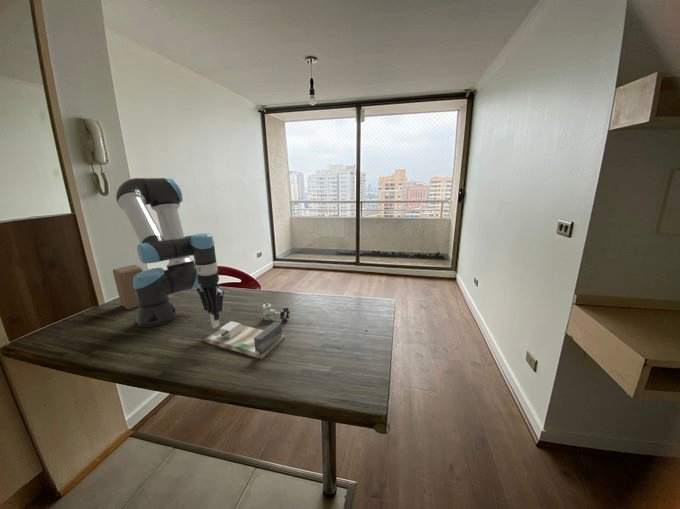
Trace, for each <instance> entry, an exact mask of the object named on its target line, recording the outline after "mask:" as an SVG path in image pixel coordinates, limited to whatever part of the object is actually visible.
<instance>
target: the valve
mask: <svg viewBox="0 0 680 509" xmlns="http://www.w3.org/2000/svg"><path fill="white" fill-rule="evenodd" d="M271 305H272V304H271V303H265V304H263V305H262V314H263V320H265V321H269V320H272V318H273V317H275V316H277V317H280V318H279V319H280V320H281V323H287V322H288V319H290V313H291V312H290V311H289V308H288V307H284V308H283V309H282V310H283V311H281V312H280V311H277V310H276V309H272V306H271Z"/></svg>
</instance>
